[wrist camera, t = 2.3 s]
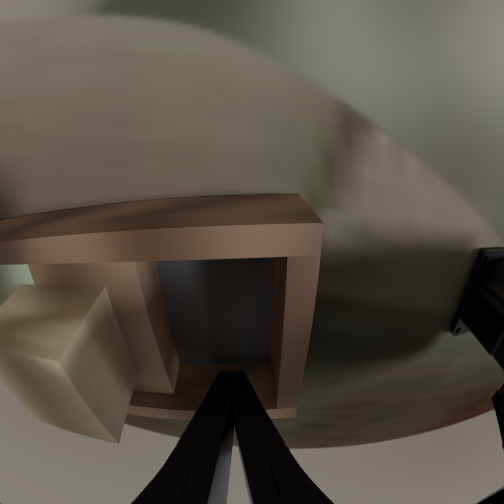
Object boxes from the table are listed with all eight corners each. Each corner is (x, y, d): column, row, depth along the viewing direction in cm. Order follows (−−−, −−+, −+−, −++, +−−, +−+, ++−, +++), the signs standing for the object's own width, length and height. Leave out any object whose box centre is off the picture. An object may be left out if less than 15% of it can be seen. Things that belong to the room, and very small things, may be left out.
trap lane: (298, 193, 11) (323, 223, 8) (286, 367, 15) (295, 416, 12) (-47, 230, 10) (-77, 252, 7) (-1, 342, 14) (-20, 369, 11)
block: (105, 286, 9) (58, 361, 6) (138, 373, 11) (118, 443, 8) (21, 284, 9) (-27, 337, 5) (59, 362, 11) (31, 417, 8)
